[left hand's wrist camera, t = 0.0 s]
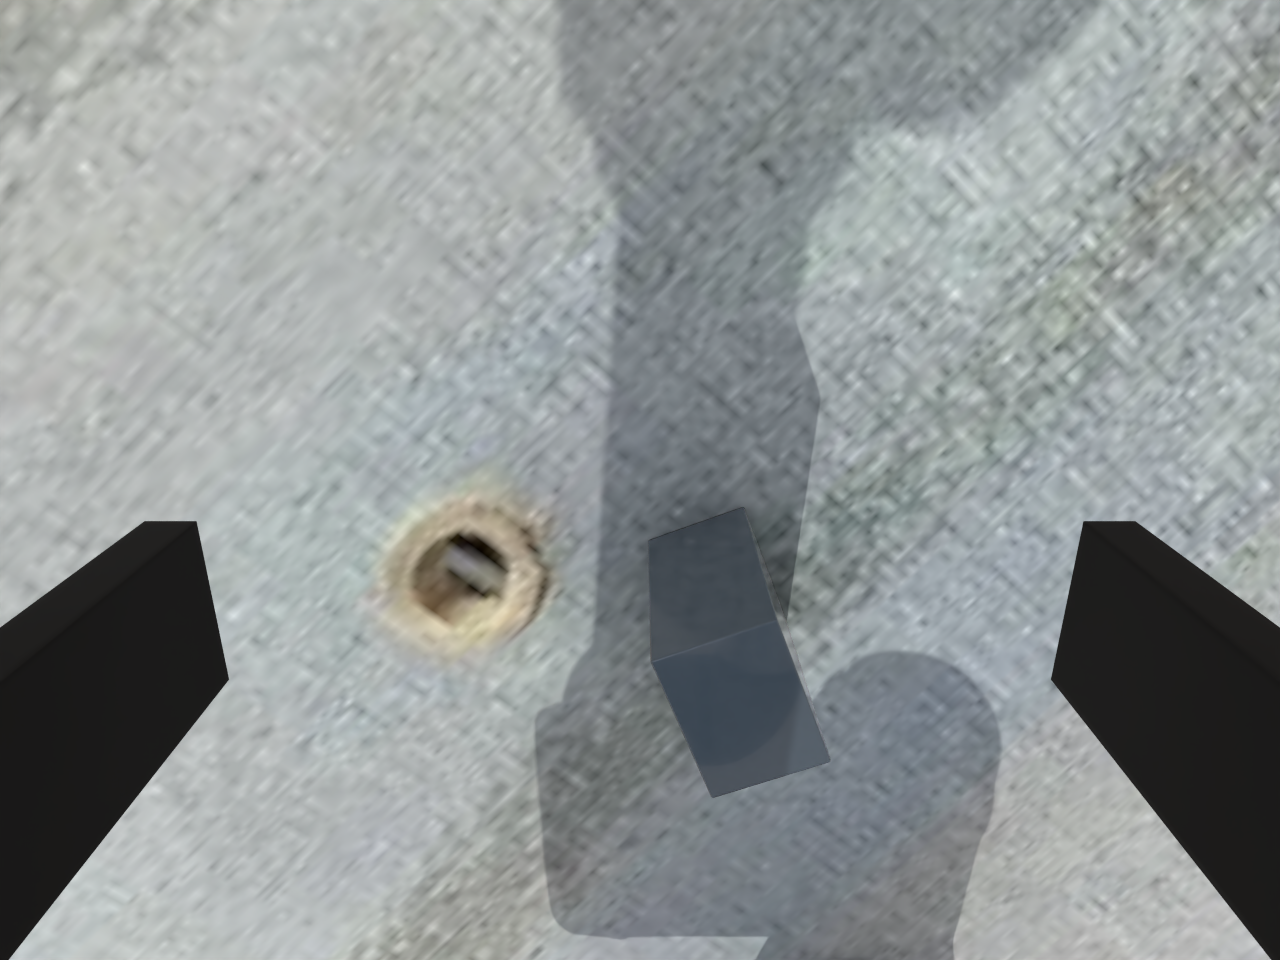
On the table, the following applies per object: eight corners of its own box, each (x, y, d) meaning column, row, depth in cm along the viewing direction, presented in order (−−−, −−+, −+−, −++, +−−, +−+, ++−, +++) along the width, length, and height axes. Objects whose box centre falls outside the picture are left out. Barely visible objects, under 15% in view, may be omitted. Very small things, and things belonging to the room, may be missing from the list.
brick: (787, 622, 45) (831, 762, 35) (695, 652, 46) (711, 799, 35) (743, 506, 43) (777, 619, 32) (647, 540, 43) (650, 661, 33)
